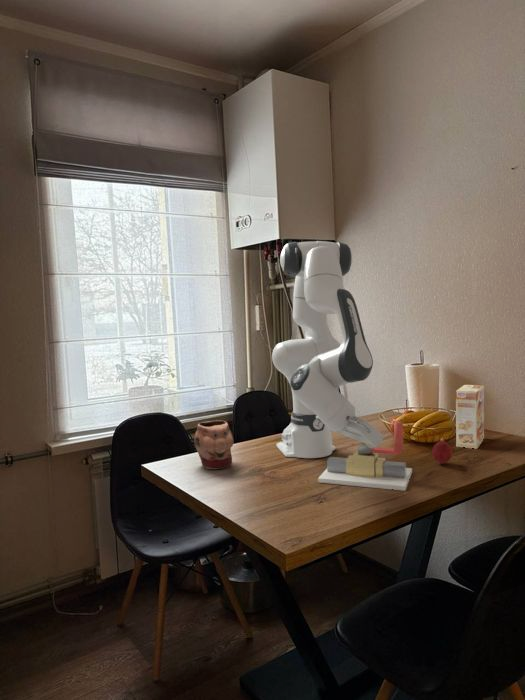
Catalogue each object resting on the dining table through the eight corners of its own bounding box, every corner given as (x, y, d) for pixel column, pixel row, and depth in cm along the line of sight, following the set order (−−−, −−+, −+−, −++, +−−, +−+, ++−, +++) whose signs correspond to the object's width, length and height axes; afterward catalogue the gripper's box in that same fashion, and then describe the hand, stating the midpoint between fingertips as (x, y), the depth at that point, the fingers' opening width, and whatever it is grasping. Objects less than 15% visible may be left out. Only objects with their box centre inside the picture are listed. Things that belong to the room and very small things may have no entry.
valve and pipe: (326, 477, 152) (325, 452, 151) (331, 470, 157) (330, 447, 157) (403, 484, 143) (403, 458, 143) (406, 477, 149) (406, 452, 148)
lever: (355, 453, 149) (355, 421, 148) (360, 449, 153) (359, 418, 152) (401, 457, 143) (400, 424, 142) (404, 453, 147) (404, 420, 146)
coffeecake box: (477, 449, 174) (477, 391, 172) (455, 447, 178) (454, 390, 176) (485, 438, 187) (484, 385, 185) (464, 436, 190) (463, 384, 189)
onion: (453, 467, 156) (453, 441, 156) (433, 466, 158) (433, 440, 157) (450, 461, 162) (450, 436, 161) (431, 461, 163) (431, 436, 163)
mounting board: (318, 482, 148) (318, 478, 148) (332, 465, 162) (332, 461, 162) (405, 490, 138) (405, 486, 138) (412, 472, 153) (412, 468, 153)
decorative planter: (186, 460, 174) (184, 419, 173) (219, 454, 180) (217, 414, 179) (208, 476, 157) (206, 430, 156) (245, 469, 162) (243, 425, 161)
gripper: (368, 411, 128) (401, 444, 132) (326, 399, 147) (356, 429, 151) (353, 431, 127) (387, 464, 131) (312, 416, 145) (343, 446, 150)
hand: (370, 445), depth 141 cm, fingers closed
